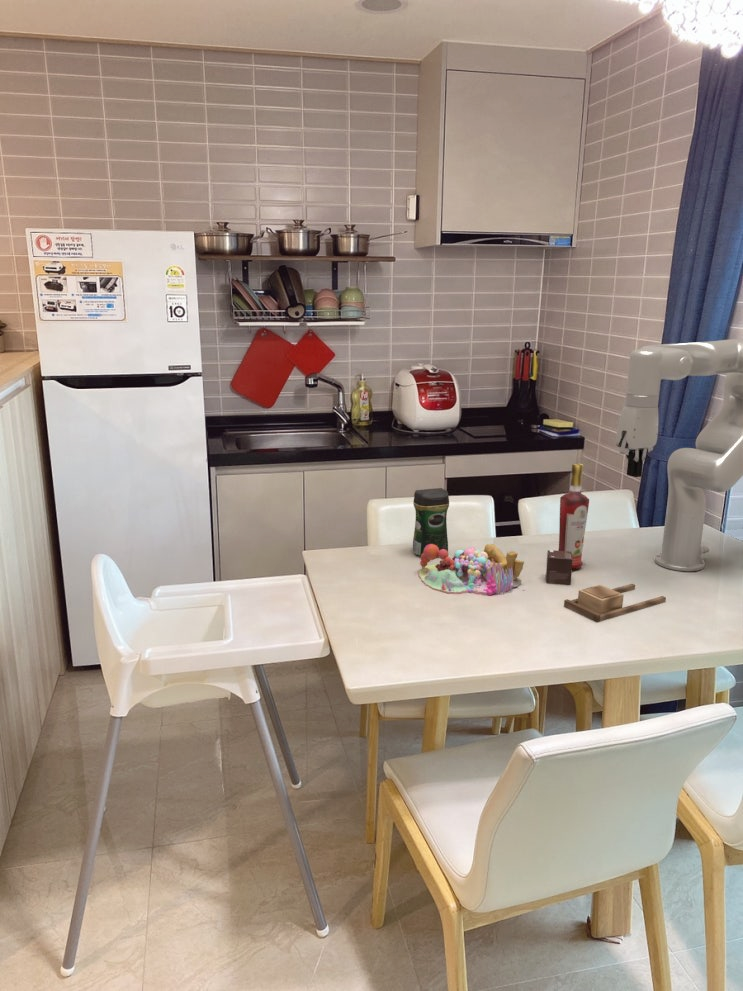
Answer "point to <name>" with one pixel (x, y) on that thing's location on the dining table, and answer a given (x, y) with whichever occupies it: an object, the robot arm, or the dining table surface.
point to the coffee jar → (430, 519)
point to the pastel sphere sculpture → (471, 570)
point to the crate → (600, 599)
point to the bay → (597, 617)
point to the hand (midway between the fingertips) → (633, 475)
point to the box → (559, 567)
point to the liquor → (573, 518)
